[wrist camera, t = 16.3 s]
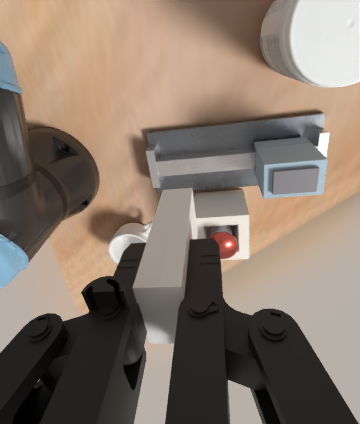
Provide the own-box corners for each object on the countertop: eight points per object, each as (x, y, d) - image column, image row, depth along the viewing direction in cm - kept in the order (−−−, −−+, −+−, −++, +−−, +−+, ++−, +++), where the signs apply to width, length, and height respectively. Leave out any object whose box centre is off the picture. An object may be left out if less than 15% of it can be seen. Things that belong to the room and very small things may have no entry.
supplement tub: (327, 75, 36) (390, 93, 24) (253, 75, 37) (276, 92, 24) (351, -20, 31) (447, -62, 19) (265, -19, 32) (301, -58, 19)
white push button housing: (199, 233, 51) (197, 262, 44) (194, 193, 47) (192, 218, 40) (243, 231, 50) (249, 260, 43) (242, 189, 46) (248, 214, 39)
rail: (158, 190, 47) (155, 199, 44) (147, 131, 42) (142, 137, 39) (314, 178, 44) (321, 186, 41) (323, 112, 38) (331, 117, 36)
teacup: (141, 256, 55) (136, 275, 51) (109, 235, 53) (99, 253, 49) (172, 225, 51) (168, 243, 46) (137, 201, 49) (130, 217, 44)
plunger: (208, 230, 48) (208, 259, 41) (206, 208, 45) (205, 235, 39) (234, 229, 47) (238, 258, 41) (233, 206, 45) (237, 234, 38)
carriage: (253, 171, 42) (264, 201, 34) (254, 142, 40) (265, 166, 32) (302, 167, 41) (324, 197, 33) (305, 136, 39) (329, 160, 31)
